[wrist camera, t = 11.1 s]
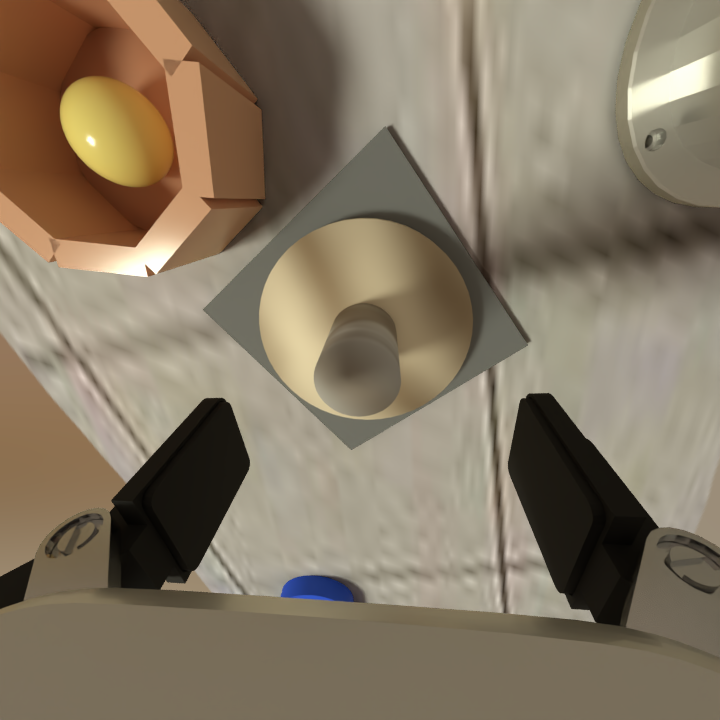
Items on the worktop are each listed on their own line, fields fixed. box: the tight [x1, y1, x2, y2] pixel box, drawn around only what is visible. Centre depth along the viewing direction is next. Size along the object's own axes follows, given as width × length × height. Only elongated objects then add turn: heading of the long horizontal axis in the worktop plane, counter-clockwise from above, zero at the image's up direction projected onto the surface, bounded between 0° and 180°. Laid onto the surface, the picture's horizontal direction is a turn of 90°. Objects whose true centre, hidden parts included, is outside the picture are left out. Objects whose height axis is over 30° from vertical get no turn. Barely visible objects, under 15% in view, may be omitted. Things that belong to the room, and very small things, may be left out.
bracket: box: [281, 576, 354, 602], centre depth 35 cm, size 18×8×9 cm, turn 5°
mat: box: [203, 126, 528, 450], centre depth 20 cm, size 15×15×1 cm
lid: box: [259, 218, 473, 420], centre depth 17 cm, size 13×13×7 cm
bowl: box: [0, 0, 265, 277], centre depth 14 cm, size 11×11×6 cm
